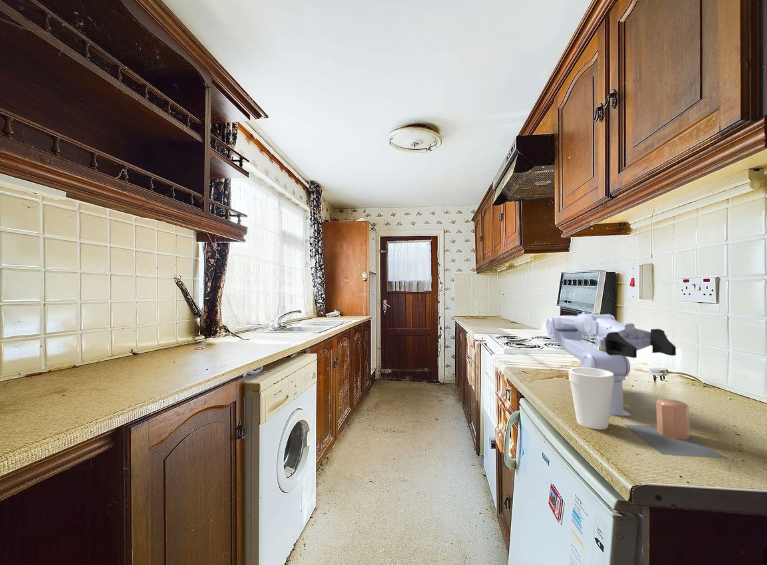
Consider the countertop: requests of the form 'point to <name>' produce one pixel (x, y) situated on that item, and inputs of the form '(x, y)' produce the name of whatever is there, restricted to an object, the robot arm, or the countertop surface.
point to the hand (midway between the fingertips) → (654, 352)
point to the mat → (673, 443)
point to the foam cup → (591, 396)
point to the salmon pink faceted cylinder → (673, 419)
